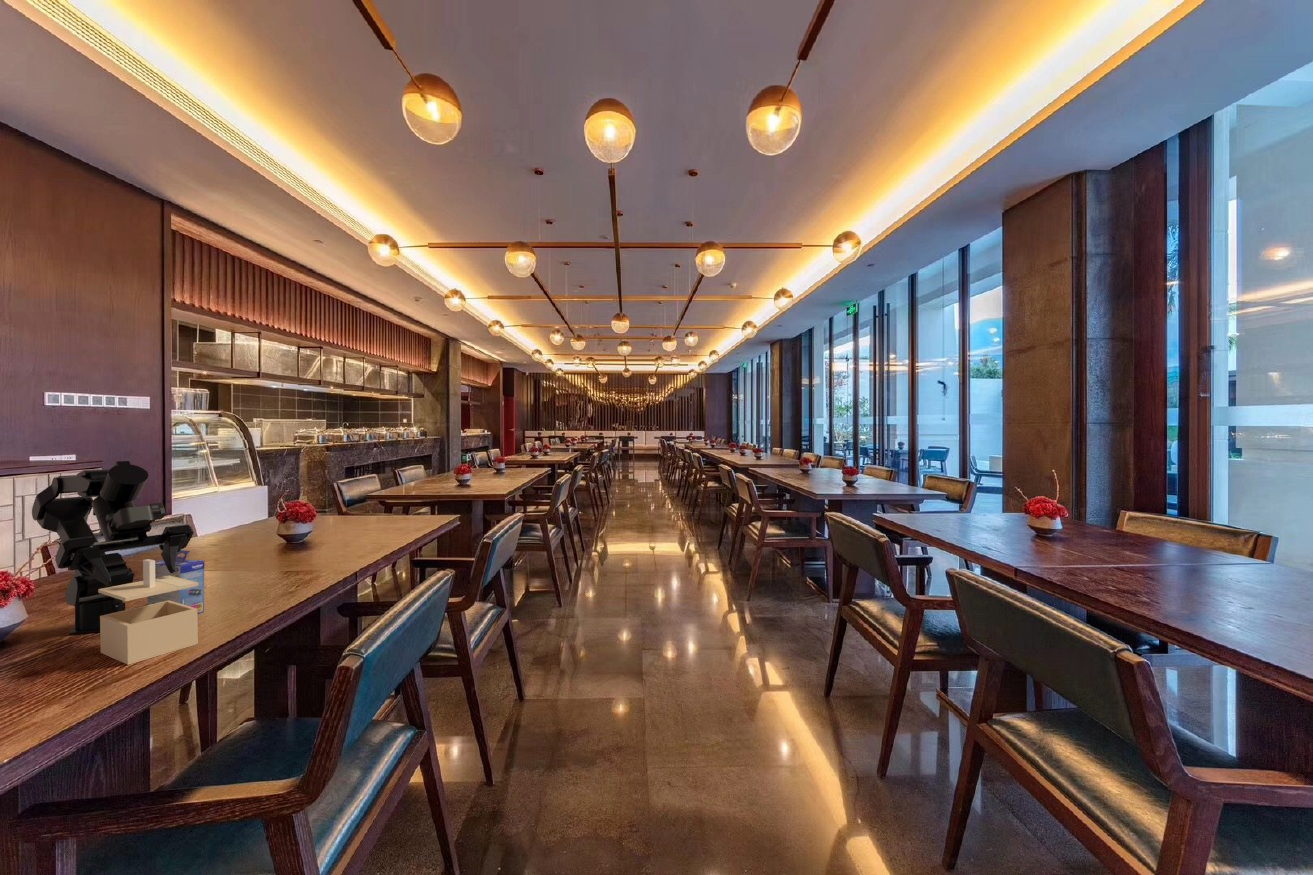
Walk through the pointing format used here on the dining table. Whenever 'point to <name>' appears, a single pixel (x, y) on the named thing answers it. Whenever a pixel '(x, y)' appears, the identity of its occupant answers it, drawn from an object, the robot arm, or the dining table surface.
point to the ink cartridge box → (183, 570)
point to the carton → (148, 631)
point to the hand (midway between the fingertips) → (142, 577)
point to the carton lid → (147, 585)
